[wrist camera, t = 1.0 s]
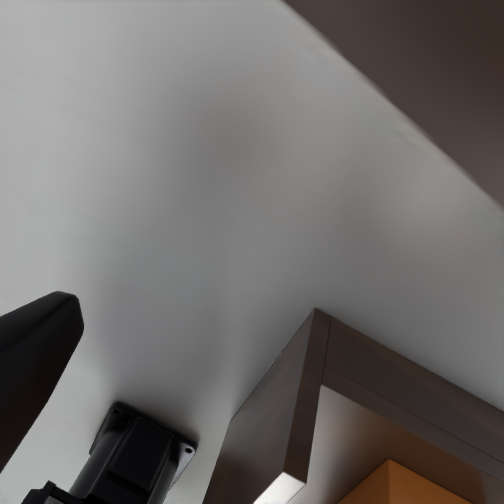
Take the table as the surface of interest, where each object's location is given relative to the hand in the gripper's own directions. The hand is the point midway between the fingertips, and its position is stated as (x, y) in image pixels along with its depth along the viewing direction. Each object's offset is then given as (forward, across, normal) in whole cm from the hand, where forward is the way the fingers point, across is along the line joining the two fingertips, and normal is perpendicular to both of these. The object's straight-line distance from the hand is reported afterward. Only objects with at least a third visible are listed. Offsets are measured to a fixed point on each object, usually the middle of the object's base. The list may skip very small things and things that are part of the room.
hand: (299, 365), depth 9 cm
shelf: (+13, -5, +18) cm, 23 cm away
